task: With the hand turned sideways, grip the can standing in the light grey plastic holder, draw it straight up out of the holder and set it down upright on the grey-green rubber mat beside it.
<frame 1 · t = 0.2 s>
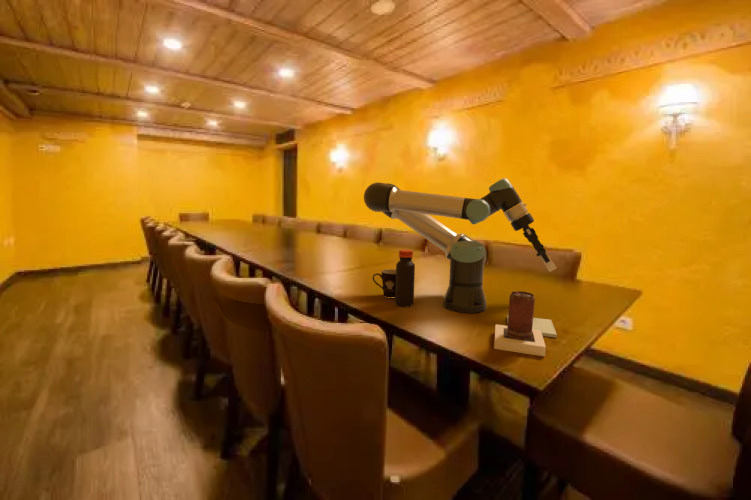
hand: (550, 267, 124), 15 cm above the table, tool tilted 35°, fingers open, 13 cm apart
rubber mat: (529, 326, 105), on the table
cup holder: (517, 343, 93), on the table
coffee mug: (388, 295, 138), on the table
can: (517, 344, 93), resting in cup holder
bottle: (404, 304, 126), on the table
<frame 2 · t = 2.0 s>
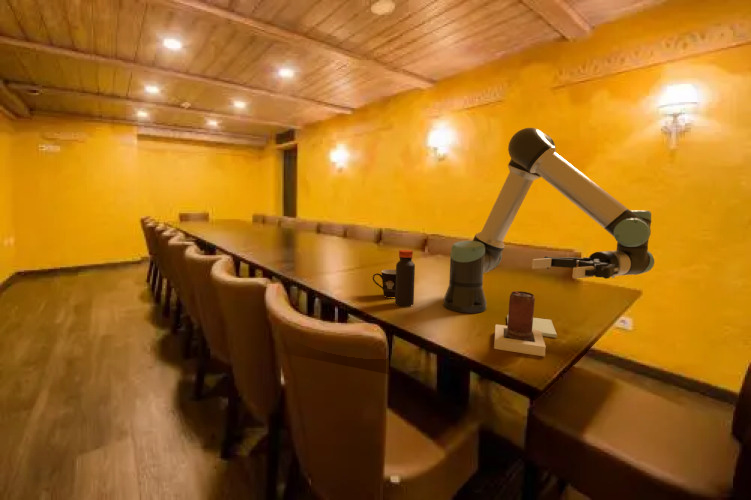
hand: (552, 268, 93), 20 cm above the table, tool horizontal, fingers open, 13 cm apart
nothing on the table moved.
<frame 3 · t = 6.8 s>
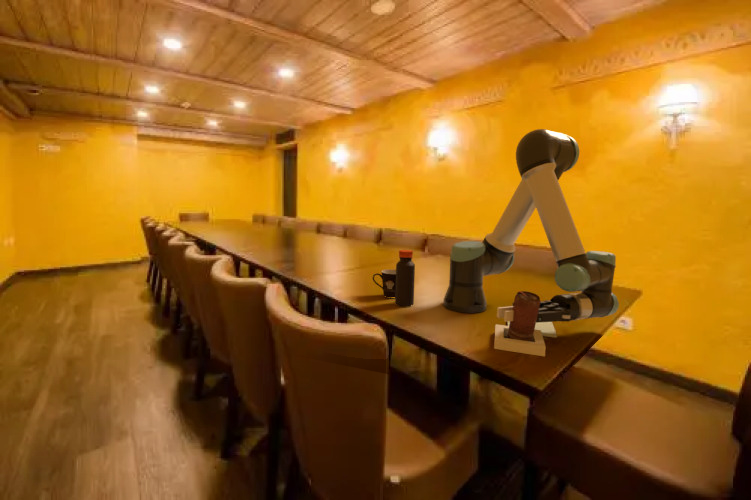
hand: (501, 314, 90), 9 cm above the table, tool horizontal, fingers open, 2 cm apart
can: (518, 342, 93), resting in cup holder, touching gripper
everything else where it was.
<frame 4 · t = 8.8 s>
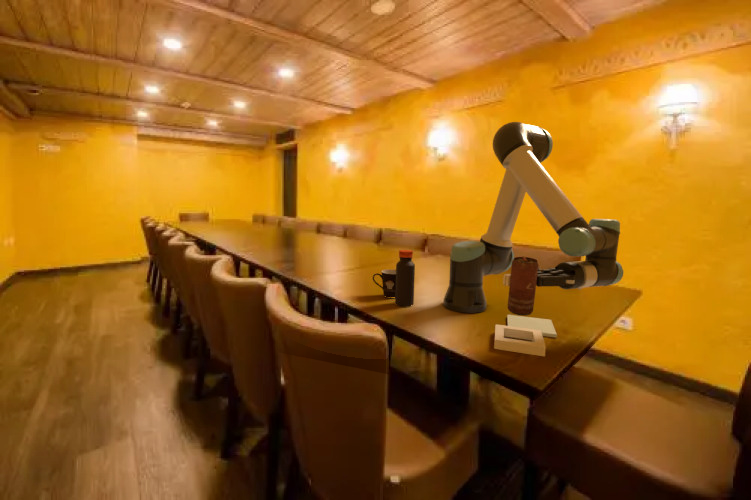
hand: (505, 280, 88), 18 cm above the table, tool horizontal, fingers closed on can
can: (519, 311, 89), point 10 cm above the table, touching gripper
everything else where it was.
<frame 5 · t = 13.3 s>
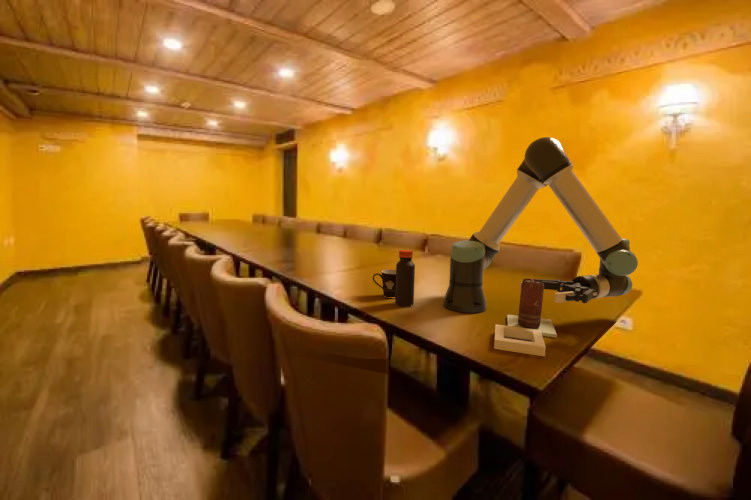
hand: (536, 291, 104), 11 cm above the table, tool horizontal, fingers open, 13 cm apart
can: (528, 326, 103), point 1 cm above the table, touching rubber mat
everything else where it was.
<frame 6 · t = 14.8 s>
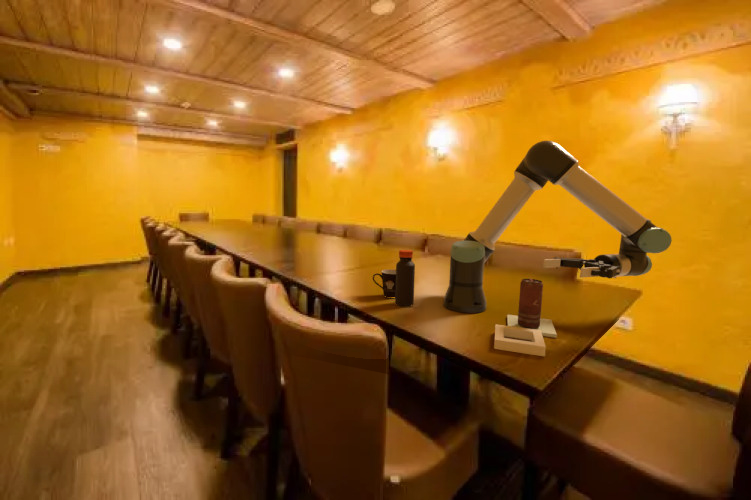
hand: (561, 267, 106), 18 cm above the table, tool horizontal, fingers open, 13 cm apart
nothing on the table moved.
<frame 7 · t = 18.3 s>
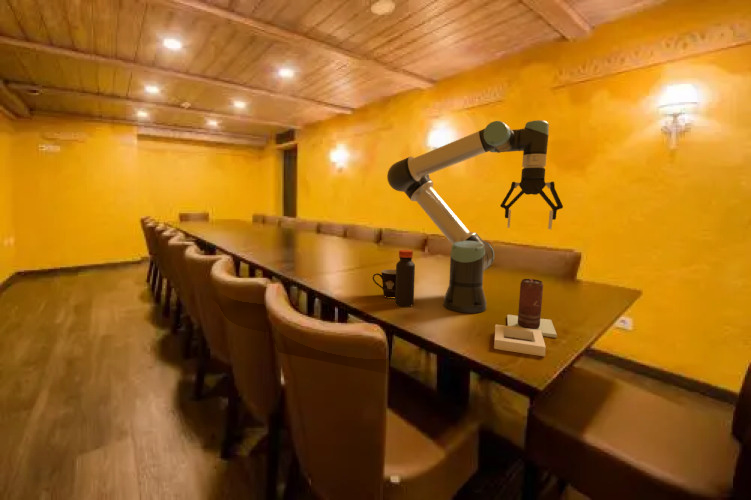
hand: (528, 228, 123), 29 cm above the table, tool pointing down, fingers open, 13 cm apart
nothing on the table moved.
at the end: can inside the target area on the rubber mat (2.3 cm from its centre), point 0.9 cm above the rubber mat's base; can tilted 1°; the gripper is holding nothing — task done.
